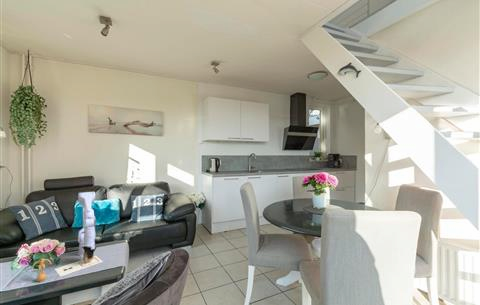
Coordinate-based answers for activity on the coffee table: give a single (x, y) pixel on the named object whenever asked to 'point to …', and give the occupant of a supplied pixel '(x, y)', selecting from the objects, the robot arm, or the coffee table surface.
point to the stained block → (85, 257)
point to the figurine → (41, 275)
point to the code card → (77, 266)
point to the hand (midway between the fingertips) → (89, 257)
